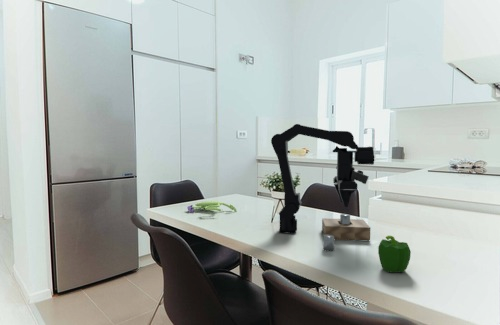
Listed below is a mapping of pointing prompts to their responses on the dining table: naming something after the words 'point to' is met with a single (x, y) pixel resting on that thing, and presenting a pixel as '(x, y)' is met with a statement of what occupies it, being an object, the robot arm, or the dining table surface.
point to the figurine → (210, 206)
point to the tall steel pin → (345, 219)
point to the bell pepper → (393, 255)
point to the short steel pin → (328, 242)
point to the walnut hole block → (346, 229)
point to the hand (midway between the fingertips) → (344, 204)
